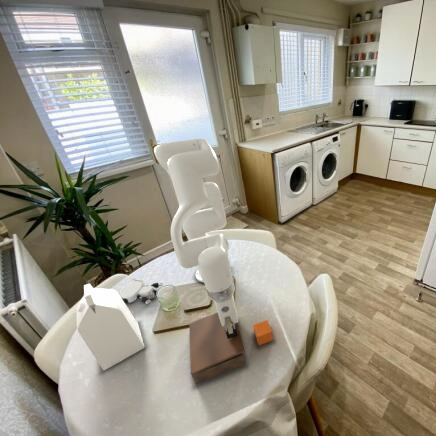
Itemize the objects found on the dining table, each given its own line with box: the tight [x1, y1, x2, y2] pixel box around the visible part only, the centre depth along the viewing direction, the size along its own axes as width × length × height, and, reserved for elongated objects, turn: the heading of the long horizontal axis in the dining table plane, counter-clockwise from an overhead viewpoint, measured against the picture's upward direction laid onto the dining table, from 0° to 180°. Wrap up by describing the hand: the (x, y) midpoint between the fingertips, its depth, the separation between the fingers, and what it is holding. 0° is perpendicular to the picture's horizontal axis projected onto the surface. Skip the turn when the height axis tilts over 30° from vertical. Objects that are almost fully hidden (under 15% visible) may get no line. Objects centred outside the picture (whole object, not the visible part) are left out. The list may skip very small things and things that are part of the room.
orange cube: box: [252, 319, 274, 346], centre depth 80 cm, size 5×5×5 cm
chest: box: [191, 352, 246, 385], centre depth 78 cm, size 15×18×5 cm
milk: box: [75, 283, 145, 371], centre depth 75 cm, size 12×12×26 cm
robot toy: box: [118, 278, 163, 305], centre depth 99 cm, size 12×4×15 cm
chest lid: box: [188, 311, 246, 376], centre depth 75 cm, size 15×18×5 cm
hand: (231, 328), depth 77 cm, fingers closed on chest lid, 5 cm apart
